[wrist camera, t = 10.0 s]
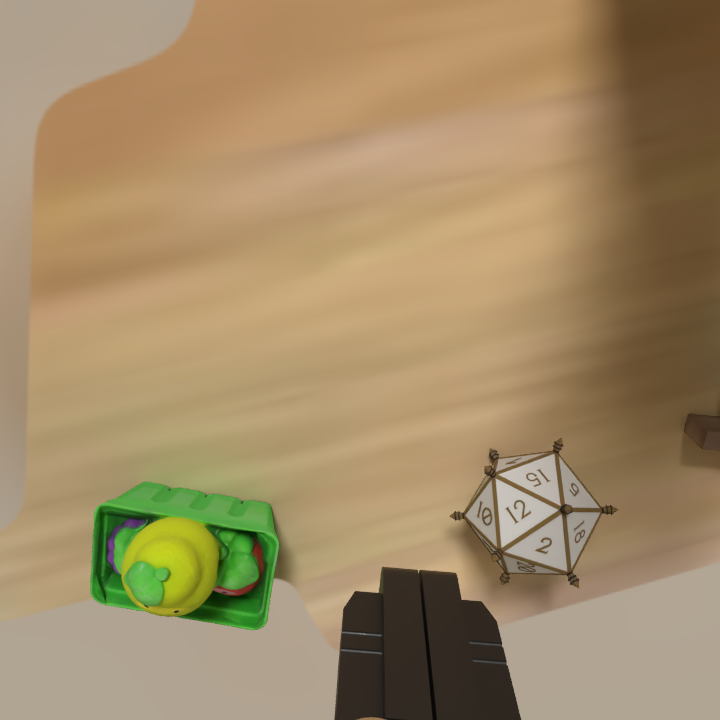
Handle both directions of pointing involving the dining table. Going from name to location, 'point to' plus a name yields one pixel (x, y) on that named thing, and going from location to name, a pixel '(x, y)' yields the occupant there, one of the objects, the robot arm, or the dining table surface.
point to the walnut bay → (704, 431)
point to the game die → (533, 514)
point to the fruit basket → (185, 555)
